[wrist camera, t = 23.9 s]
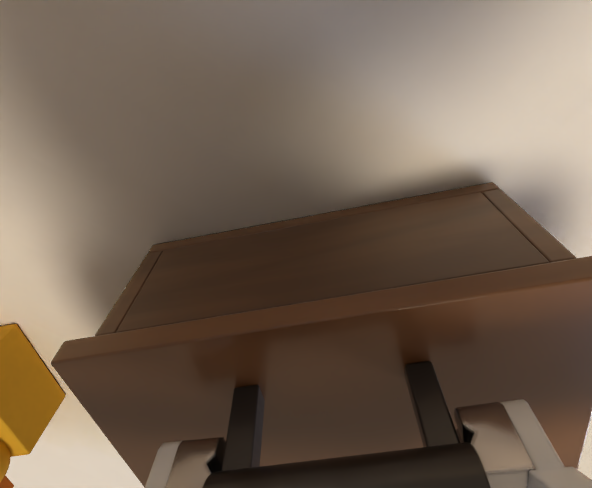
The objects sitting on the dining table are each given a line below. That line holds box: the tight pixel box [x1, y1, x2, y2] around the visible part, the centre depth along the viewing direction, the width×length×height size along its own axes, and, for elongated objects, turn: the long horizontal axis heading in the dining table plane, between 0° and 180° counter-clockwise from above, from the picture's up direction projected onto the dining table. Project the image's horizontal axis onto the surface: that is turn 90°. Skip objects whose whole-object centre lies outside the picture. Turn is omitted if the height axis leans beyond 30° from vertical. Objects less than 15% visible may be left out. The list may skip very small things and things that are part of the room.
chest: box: [95, 182, 576, 336], centre depth 18 cm, size 16×14×6 cm
